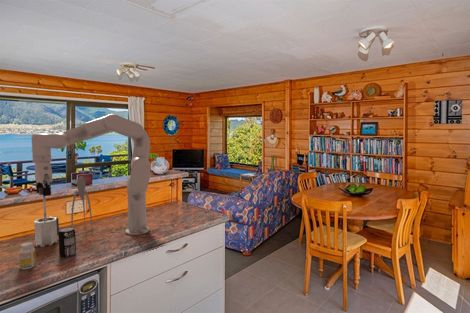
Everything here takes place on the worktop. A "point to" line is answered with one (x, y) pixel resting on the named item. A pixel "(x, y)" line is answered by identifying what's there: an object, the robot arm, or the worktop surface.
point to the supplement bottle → (27, 256)
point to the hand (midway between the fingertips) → (43, 194)
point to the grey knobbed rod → (43, 204)
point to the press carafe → (46, 231)
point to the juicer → (81, 193)
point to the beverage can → (67, 242)
